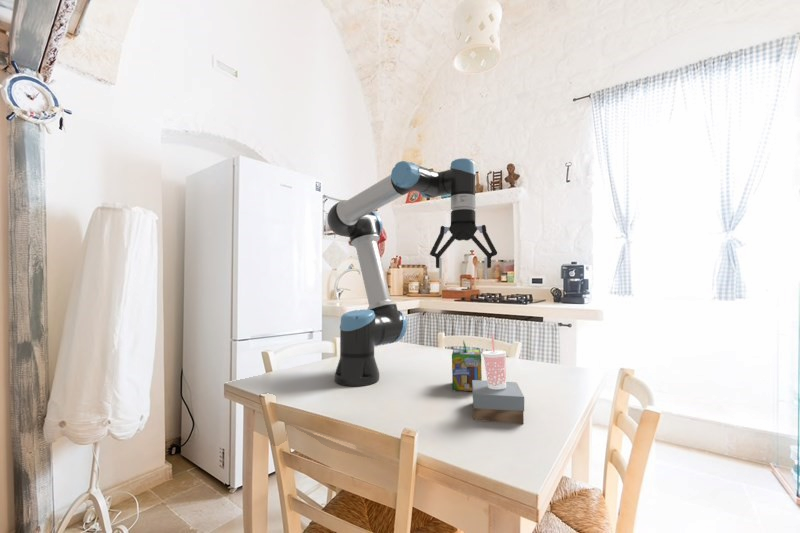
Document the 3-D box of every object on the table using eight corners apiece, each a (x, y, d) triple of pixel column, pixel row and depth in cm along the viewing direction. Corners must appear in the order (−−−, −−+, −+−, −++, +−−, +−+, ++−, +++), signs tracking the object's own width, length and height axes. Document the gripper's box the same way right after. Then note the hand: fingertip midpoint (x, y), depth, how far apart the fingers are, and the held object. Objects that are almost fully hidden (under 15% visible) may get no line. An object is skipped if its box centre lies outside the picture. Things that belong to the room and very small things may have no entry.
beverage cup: (493, 382, 98) (488, 331, 99) (513, 385, 94) (508, 331, 95) (480, 388, 94) (475, 334, 95) (501, 391, 89) (496, 335, 90)
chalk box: (482, 392, 109) (481, 344, 110) (451, 390, 111) (451, 343, 112) (481, 383, 118) (481, 339, 119) (453, 382, 120) (453, 338, 121)
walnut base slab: (472, 421, 89) (472, 407, 89) (473, 404, 101) (473, 392, 101) (523, 426, 86) (523, 411, 86) (517, 408, 98) (517, 395, 98)
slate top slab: (473, 408, 89) (473, 393, 89) (472, 392, 101) (472, 379, 101) (524, 411, 87) (524, 396, 87) (516, 395, 99) (516, 382, 99)
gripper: (421, 209, 109) (421, 278, 109) (505, 206, 104) (506, 279, 104) (424, 213, 117) (424, 278, 116) (503, 211, 112) (504, 279, 111)
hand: (463, 279), depth 110 cm, fingers open, 13 cm apart
